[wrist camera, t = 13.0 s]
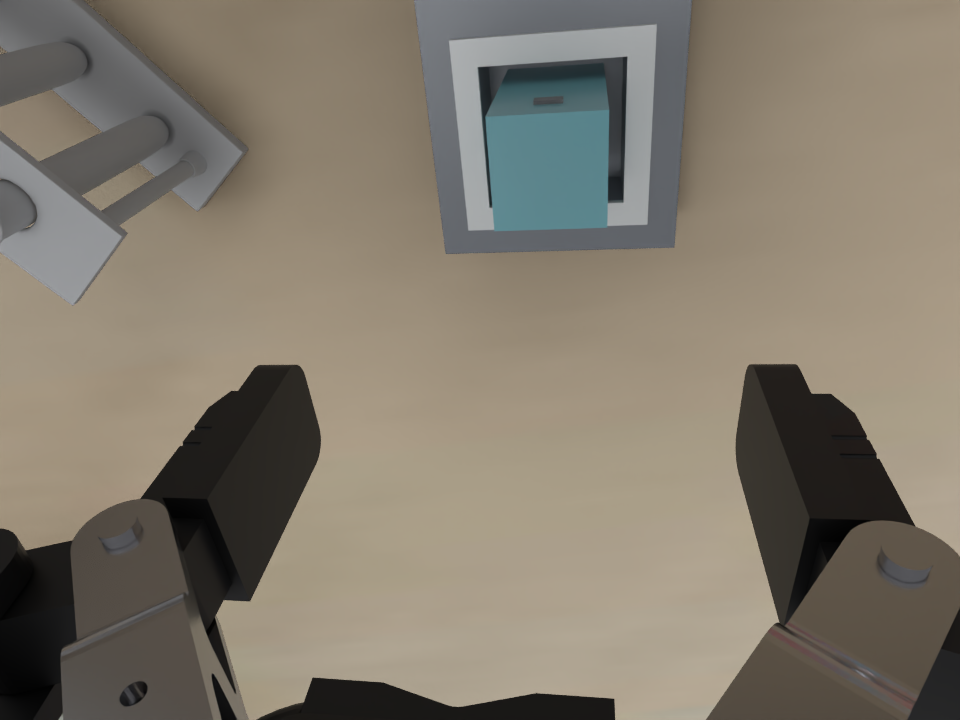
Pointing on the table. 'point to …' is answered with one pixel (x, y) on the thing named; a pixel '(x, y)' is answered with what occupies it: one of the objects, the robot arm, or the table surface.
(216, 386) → the table surface
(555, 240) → the power strip
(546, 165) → the block
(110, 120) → the test tube rack
